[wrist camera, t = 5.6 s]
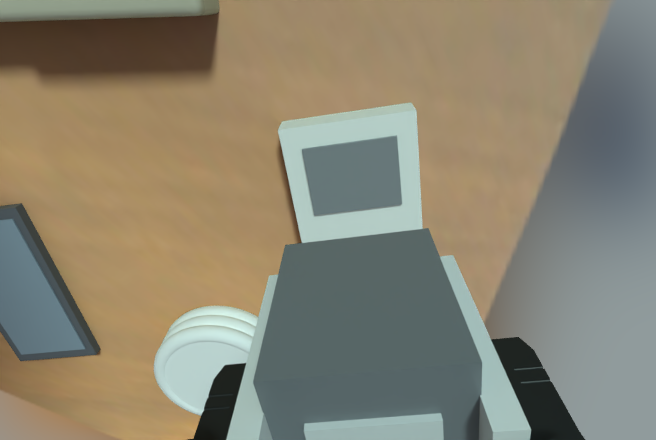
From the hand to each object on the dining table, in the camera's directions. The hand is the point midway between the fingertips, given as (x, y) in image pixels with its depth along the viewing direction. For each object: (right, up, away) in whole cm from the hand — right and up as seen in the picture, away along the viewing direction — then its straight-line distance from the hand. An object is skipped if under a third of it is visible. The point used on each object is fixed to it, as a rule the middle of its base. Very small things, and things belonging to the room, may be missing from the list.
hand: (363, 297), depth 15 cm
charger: (0, 0, 0) cm, 0 cm away
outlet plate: (+1, +3, +14) cm, 14 cm away
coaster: (-10, -8, +20) cm, 24 cm away
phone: (-25, -2, +18) cm, 31 cm away
